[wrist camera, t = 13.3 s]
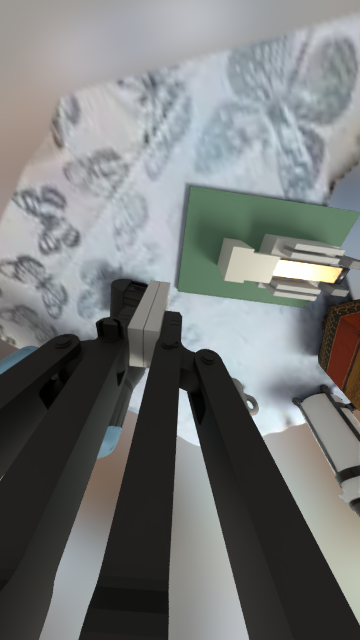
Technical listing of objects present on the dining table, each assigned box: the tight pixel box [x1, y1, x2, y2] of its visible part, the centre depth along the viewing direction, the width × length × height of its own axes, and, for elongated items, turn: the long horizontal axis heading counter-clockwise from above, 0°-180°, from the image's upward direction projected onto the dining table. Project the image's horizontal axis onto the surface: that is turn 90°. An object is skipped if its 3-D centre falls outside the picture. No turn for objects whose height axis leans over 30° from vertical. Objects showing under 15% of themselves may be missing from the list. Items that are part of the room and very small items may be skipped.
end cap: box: [110, 279, 148, 318], centre depth 37 cm, size 10×7×7 cm
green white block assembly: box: [178, 186, 360, 308], centre depth 30 cm, size 28×18×9 cm, turn 83°
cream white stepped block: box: [217, 238, 281, 283], centre depth 29 cm, size 7×5×8 cm
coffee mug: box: [232, 378, 259, 415], centre depth 52 cm, size 13×10×10 cm
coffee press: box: [292, 385, 360, 517], centre depth 45 cm, size 17×16×30 cm
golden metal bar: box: [273, 259, 350, 285], centre depth 28 cm, size 17×3×1 cm, turn 83°
